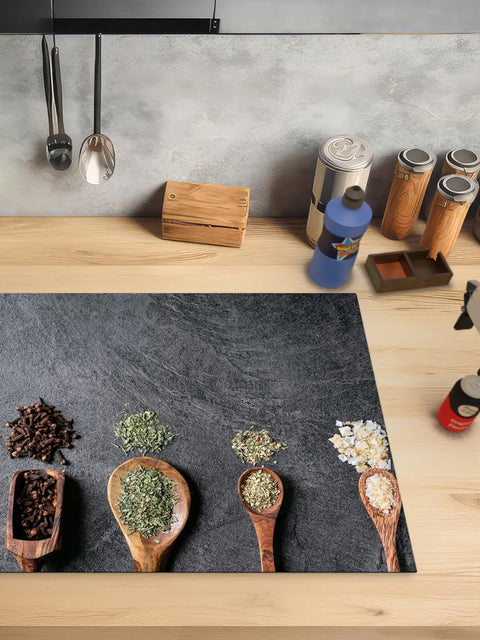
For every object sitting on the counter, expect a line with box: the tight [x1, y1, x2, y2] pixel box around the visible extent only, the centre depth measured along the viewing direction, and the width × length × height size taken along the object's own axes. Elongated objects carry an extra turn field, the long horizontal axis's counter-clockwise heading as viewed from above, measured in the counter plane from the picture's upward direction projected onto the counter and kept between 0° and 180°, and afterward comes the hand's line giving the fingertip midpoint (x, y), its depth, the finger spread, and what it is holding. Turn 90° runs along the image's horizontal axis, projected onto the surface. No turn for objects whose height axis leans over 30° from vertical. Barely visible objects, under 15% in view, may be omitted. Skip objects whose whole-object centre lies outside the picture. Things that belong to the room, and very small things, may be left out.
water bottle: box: [308, 184, 373, 290], centre depth 156 cm, size 9×9×25 cm
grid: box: [364, 247, 454, 294], centre depth 164 cm, size 16×9×4 cm, turn 98°
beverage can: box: [436, 374, 480, 432], centre depth 139 cm, size 6×6×12 cm
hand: (473, 350), depth 124 cm, fingers open, 9 cm apart
